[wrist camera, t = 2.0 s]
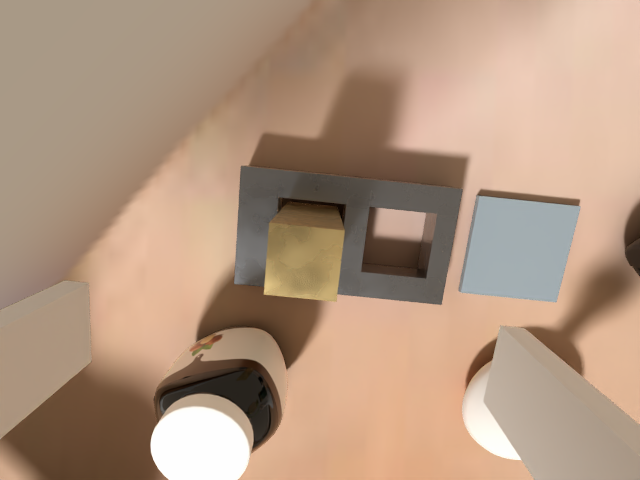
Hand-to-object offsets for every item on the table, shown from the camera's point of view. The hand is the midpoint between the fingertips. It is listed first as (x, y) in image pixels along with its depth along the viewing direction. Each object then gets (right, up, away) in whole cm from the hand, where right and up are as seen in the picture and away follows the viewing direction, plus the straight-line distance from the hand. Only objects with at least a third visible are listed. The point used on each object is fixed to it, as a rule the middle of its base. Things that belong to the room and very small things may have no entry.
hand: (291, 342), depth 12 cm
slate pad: (+19, +2, +22) cm, 29 cm away
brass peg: (0, +4, +22) cm, 22 cm away
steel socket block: (+3, +4, +22) cm, 22 cm away
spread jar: (-8, -10, +25) cm, 28 cm away
